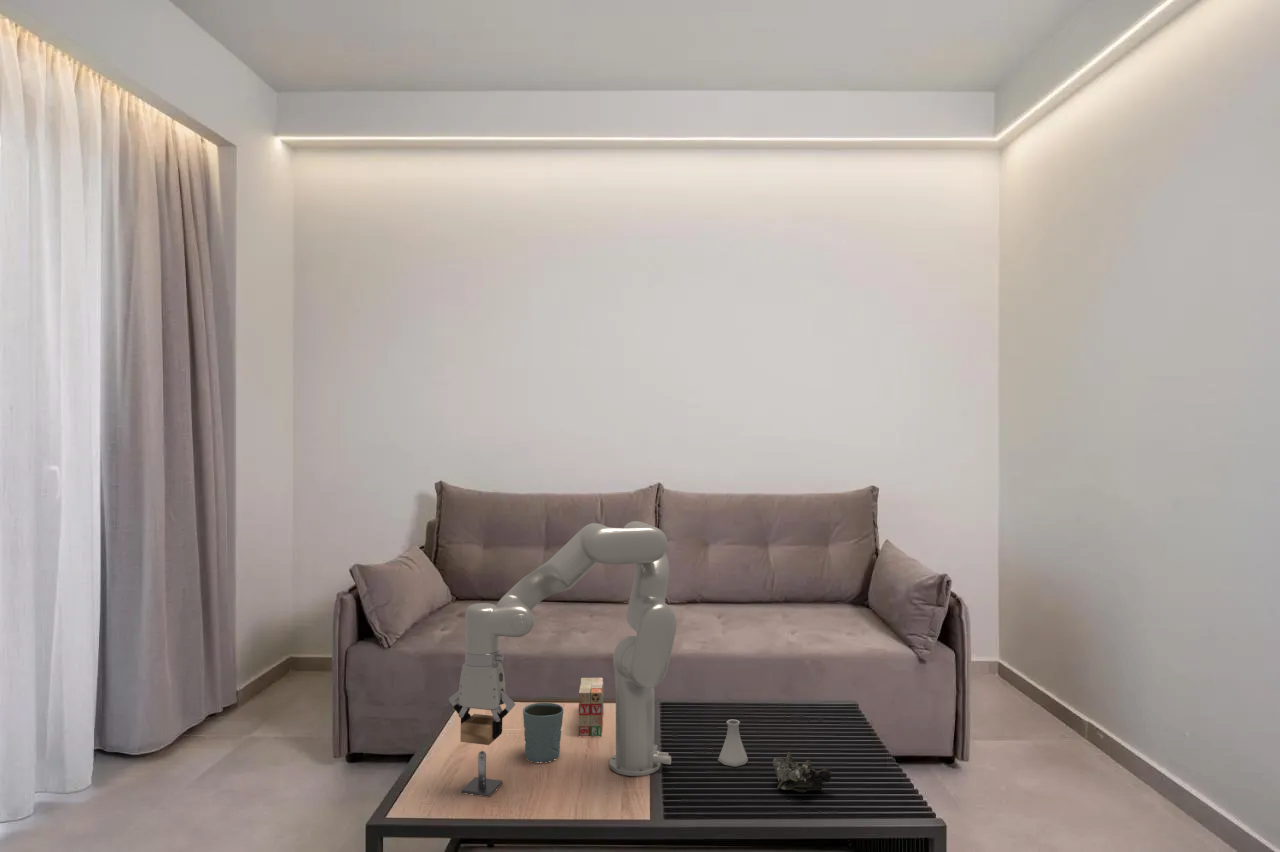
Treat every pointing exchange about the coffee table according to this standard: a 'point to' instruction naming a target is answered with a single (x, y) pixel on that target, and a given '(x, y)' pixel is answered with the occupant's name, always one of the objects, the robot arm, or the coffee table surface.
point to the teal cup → (542, 731)
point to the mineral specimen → (799, 775)
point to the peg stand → (482, 780)
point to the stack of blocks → (591, 707)
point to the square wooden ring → (478, 729)
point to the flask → (733, 746)
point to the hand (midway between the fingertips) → (481, 734)
